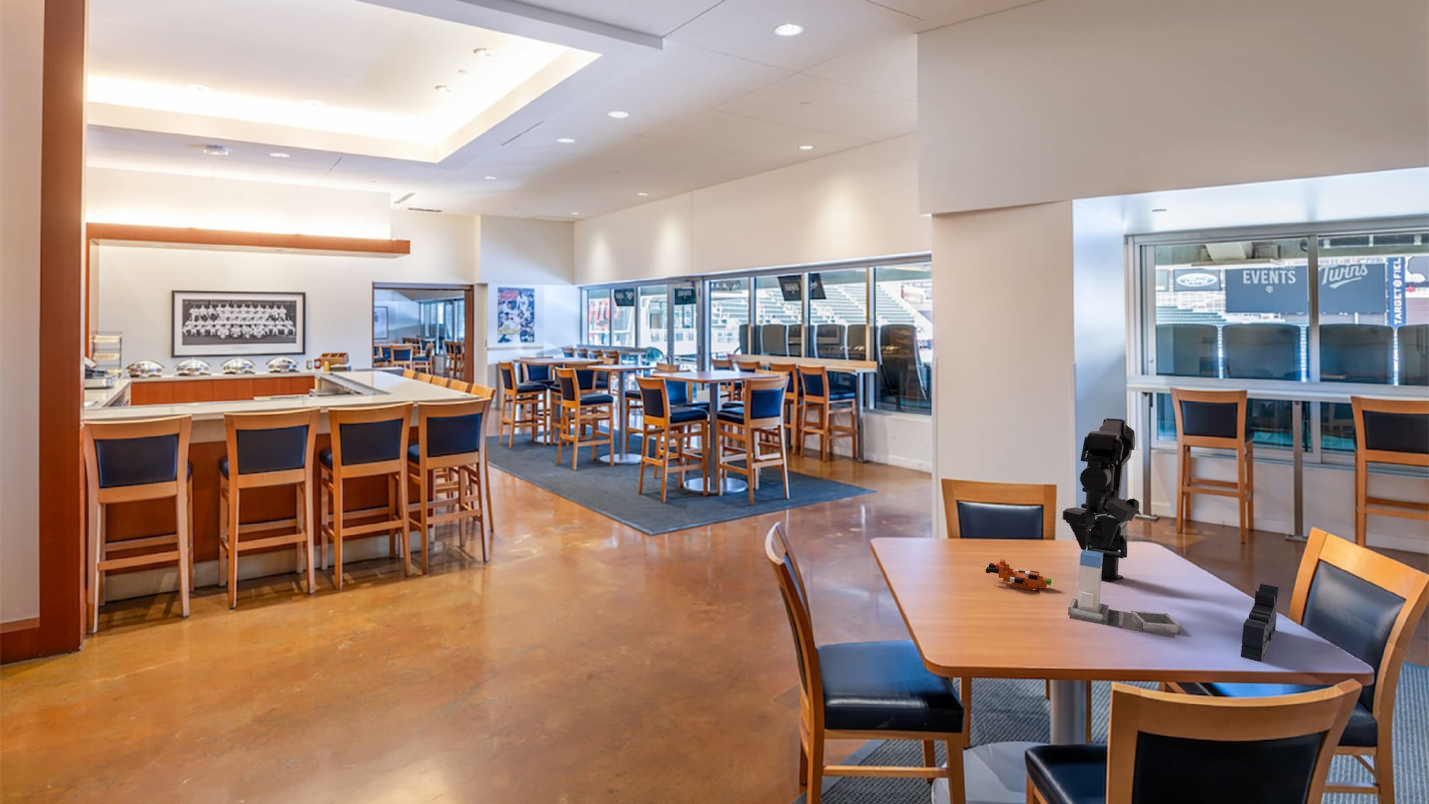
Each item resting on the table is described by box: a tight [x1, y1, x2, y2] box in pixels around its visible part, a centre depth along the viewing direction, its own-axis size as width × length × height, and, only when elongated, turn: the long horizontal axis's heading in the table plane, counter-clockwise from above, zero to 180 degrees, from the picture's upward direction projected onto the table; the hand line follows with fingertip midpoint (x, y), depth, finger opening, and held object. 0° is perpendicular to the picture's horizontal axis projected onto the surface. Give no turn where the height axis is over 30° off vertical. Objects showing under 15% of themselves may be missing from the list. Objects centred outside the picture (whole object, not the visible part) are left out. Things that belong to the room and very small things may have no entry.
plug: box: [1077, 549, 1103, 613], centre depth 165 cm, size 5×4×14 cm
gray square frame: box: [1130, 610, 1182, 635], centre depth 159 cm, size 7×7×2 cm
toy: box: [985, 558, 1052, 591], centre depth 185 cm, size 8×6×15 cm
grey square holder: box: [1067, 598, 1110, 622], centre depth 166 cm, size 7×7×2 cm
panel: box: [1069, 607, 1176, 639], centre depth 162 cm, size 20×11×1 cm, turn 60°
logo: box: [1240, 583, 1280, 663], centre depth 151 cm, size 24×3×10 cm, turn 137°
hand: (1095, 547), depth 178 cm, fingers open, 9 cm apart
